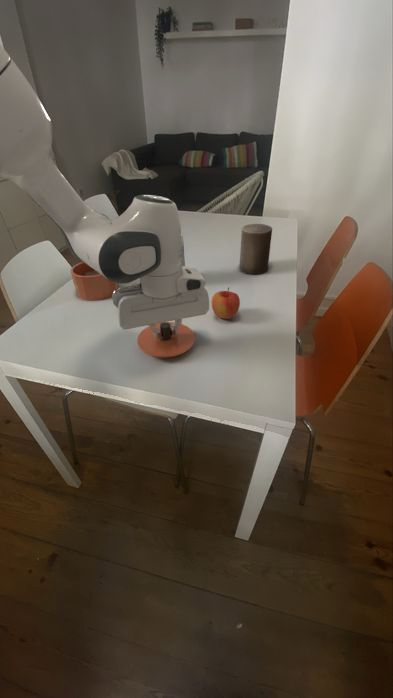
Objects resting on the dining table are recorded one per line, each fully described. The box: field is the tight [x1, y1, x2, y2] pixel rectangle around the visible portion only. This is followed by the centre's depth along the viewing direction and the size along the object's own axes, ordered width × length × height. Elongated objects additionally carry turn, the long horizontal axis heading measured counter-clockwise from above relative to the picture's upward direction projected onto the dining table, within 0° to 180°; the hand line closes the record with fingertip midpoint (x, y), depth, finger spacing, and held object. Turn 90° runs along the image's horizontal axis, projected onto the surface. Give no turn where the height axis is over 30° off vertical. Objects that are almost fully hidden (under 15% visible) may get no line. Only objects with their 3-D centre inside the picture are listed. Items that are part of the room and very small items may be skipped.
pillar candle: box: [239, 223, 273, 275], centre depth 104 cm, size 10×10×15 cm
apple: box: [210, 286, 241, 320], centre depth 82 cm, size 7×7×8 cm
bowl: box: [70, 261, 119, 301], centre depth 96 cm, size 12×12×8 cm
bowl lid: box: [136, 321, 196, 358], centre depth 73 cm, size 13×13×5 cm
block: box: [85, 271, 100, 276], centre depth 96 cm, size 5×5×5 cm
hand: (166, 335), depth 74 cm, fingers closed on bowl lid, 2 cm apart
